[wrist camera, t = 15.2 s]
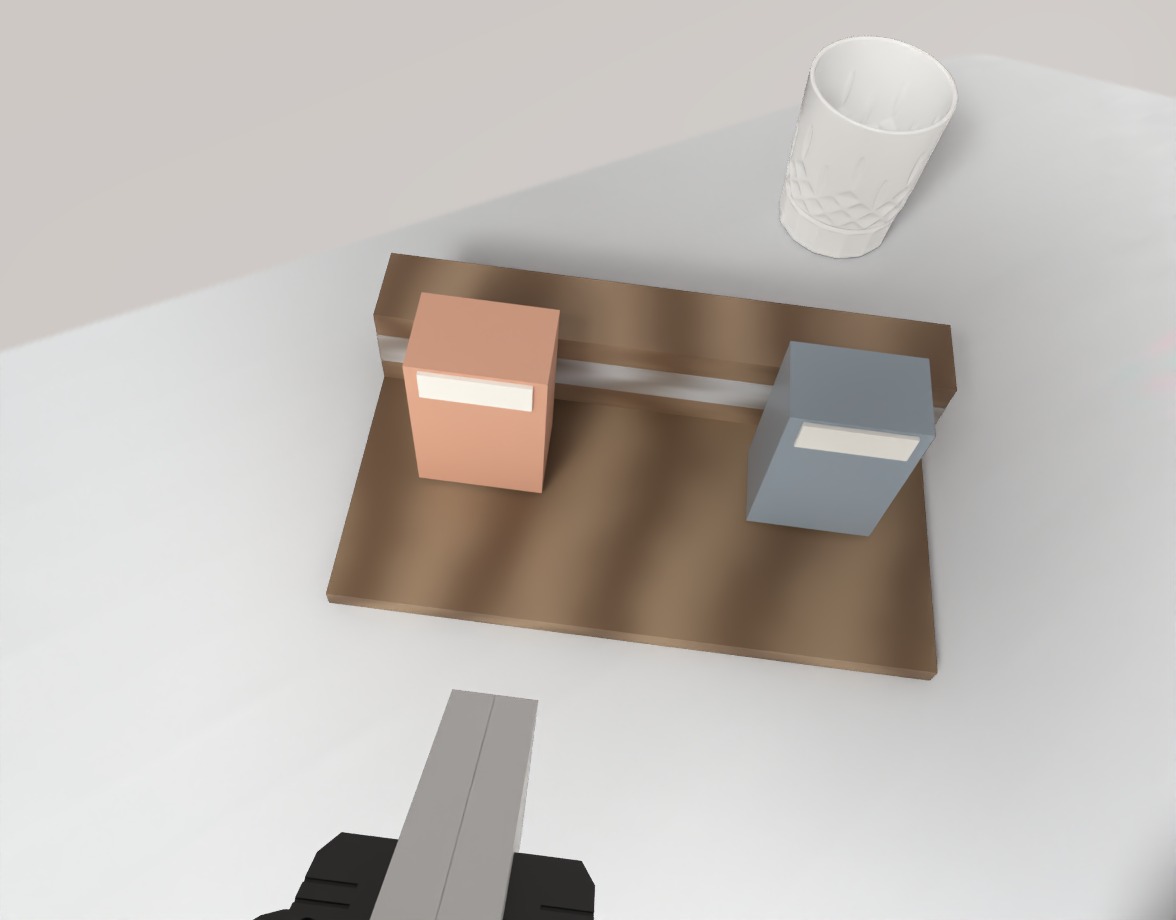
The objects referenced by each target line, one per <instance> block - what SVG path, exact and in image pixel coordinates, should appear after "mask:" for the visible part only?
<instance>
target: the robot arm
mask: <svg viewBox="0 0 1176 920" xmlns="http://www.w3.org/2000/svg"><path fill="white" fill-rule="evenodd" d="M537 706H538V700H531V699H523V698H515V697H508V696H500V695H492V694H485V693H477V692H469V691H461V690H454V689H452V692H451V695H450V698H449V700H448V703H447V706H446V709H445V712H444V714H443V717H442V720H441V723H440V726H439V728H438V731H437V734H436V737H435V739H434V742H433V745H432V748H431V751H430V753H429V756H428V759H427V762H426V764H425V767H424V770H423V773H422V776H421V778H420V781H419V784H418V787H417V790H416V792H415V795H414V798H413V801H412V803H411V806H410V809H409V812H408V815H407V817H406V820H405V823H404V826H403V829H402V831H401V834H400V837H399V840H397V839H390V838H382V837H374V836H367V835H359V834H351V833H344V832H341V833H340V834H339V835H338V836H336V837H335V838H334V839H333V840H331V841H330V842H329V843H328V844H326V845H325V846H324V847H323V848H322V849H320V850H319V851H318V852H317V853H316V855H315V858H314V860H313V862H312V864H311V866H310V868H309V870H308V872H307V874H306V876H305V881H304V882H302V885H301V887H300V889H299V891H298V893H297V895H296V897H295V902H293V903H292V905H291V907H290V909H283V910H279V911H276V912H272V913H268V914H264V915H261V916H259V917H257V918H255V919H254V920H594V917H593V916H594V897H595V885H594V883H593V881H592V879H591V877H590V876H589V874H588V872H587V870H586V868H585V866H584V864H583V863H582V861H578V860H571V859H563V858H555V857H548V856H540V855H532V854H524V853H519V848H520V841H521V834H522V826H523V818H524V810H525V802H526V794H527V786H528V778H529V770H530V762H531V754H532V746H533V738H534V730H535V722H536V714H537Z"/></svg>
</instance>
